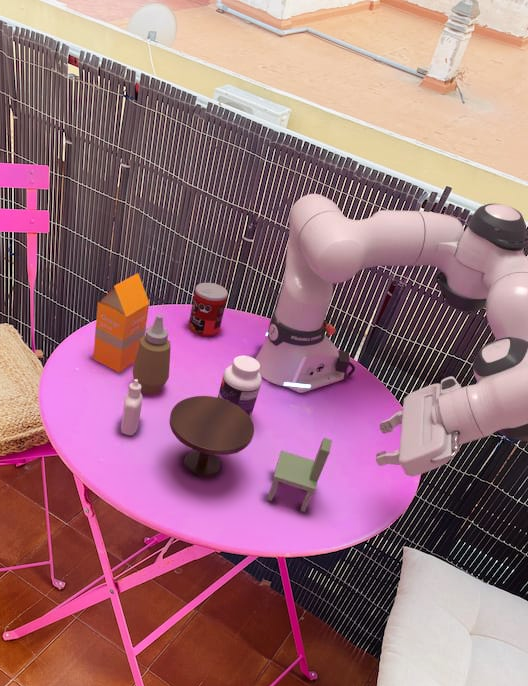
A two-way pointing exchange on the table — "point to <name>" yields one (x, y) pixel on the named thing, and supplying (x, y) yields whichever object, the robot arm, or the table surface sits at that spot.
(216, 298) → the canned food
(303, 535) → the table surface
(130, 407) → the eye dropper bottle
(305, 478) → the chair
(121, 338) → the orange juice
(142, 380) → the squeeze bottle
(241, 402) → the pill bottle
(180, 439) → the little table
